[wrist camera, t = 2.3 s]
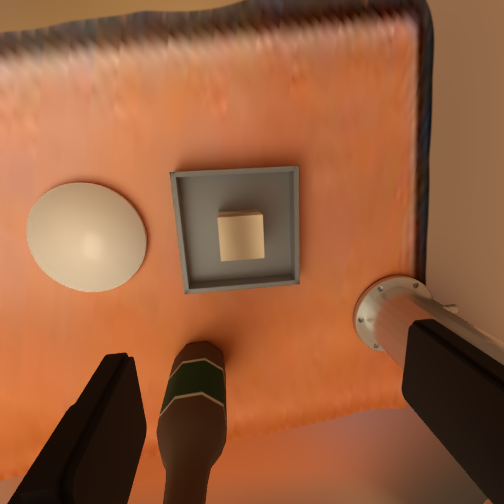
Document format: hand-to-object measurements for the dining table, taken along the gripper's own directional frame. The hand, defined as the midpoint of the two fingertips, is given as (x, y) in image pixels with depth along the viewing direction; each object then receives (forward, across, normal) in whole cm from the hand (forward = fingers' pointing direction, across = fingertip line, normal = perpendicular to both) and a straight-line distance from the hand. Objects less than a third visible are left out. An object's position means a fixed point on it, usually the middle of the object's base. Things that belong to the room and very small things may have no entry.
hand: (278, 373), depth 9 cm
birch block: (+29, -1, 0) cm, 29 cm away
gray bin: (+29, -1, 0) cm, 29 cm away
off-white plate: (+30, +18, 0) cm, 35 cm away
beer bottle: (+30, +6, +20) cm, 36 cm away
